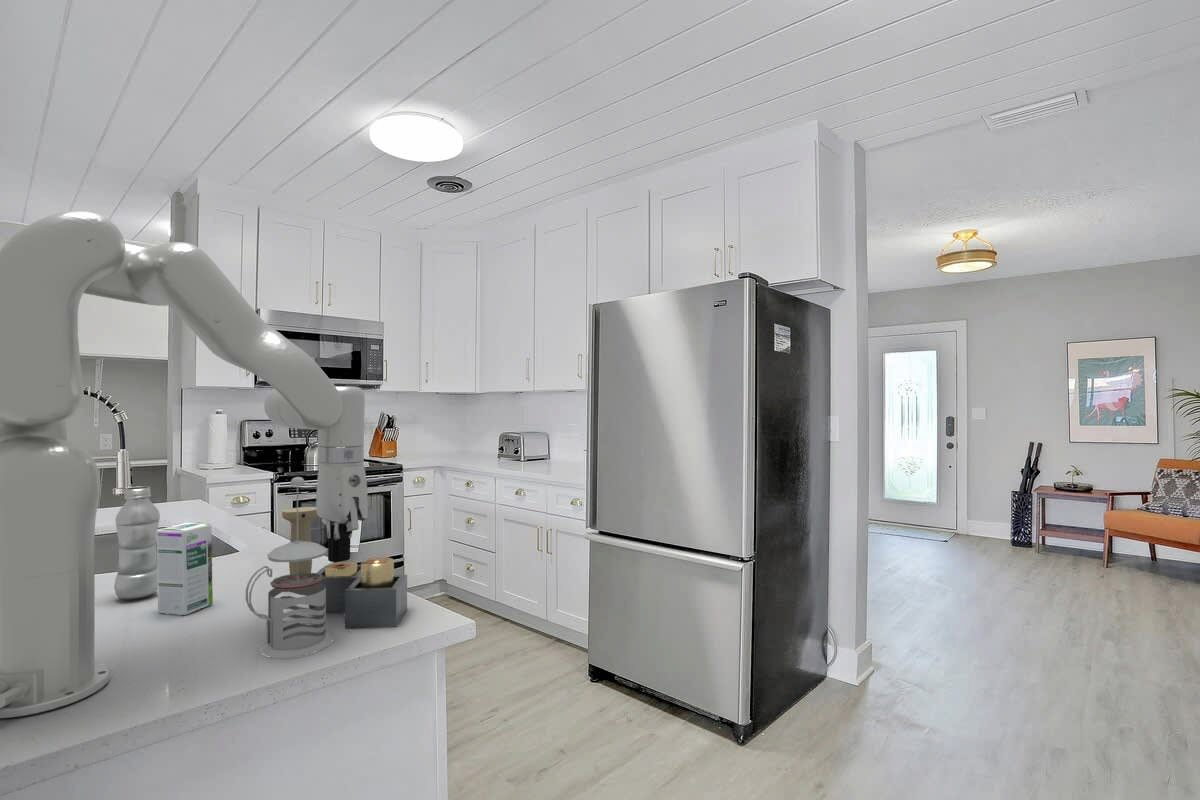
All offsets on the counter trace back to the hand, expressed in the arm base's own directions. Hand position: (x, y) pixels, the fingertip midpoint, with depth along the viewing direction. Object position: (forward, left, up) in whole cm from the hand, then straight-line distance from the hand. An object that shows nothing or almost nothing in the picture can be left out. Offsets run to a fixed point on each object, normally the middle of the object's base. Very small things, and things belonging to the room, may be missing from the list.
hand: (339, 560), depth 108 cm
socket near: (-7, -8, -8) cm, 13 cm away
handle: (+11, +11, -8) cm, 18 cm away
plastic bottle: (+7, +38, -8) cm, 39 cm away
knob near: (-7, -8, -4) cm, 11 cm away
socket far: (0, 0, -8) cm, 8 cm away
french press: (-17, +1, -8) cm, 19 cm away
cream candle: (0, 0, -6) cm, 7 cm away
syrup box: (0, +26, -8) cm, 27 cm away
